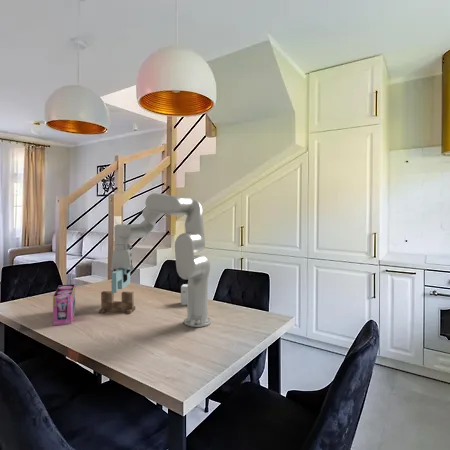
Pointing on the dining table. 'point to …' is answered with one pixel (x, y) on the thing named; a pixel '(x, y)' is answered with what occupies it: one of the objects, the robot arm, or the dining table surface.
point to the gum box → (64, 304)
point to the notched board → (119, 280)
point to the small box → (184, 294)
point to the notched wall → (117, 302)
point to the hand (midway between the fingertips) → (122, 281)
